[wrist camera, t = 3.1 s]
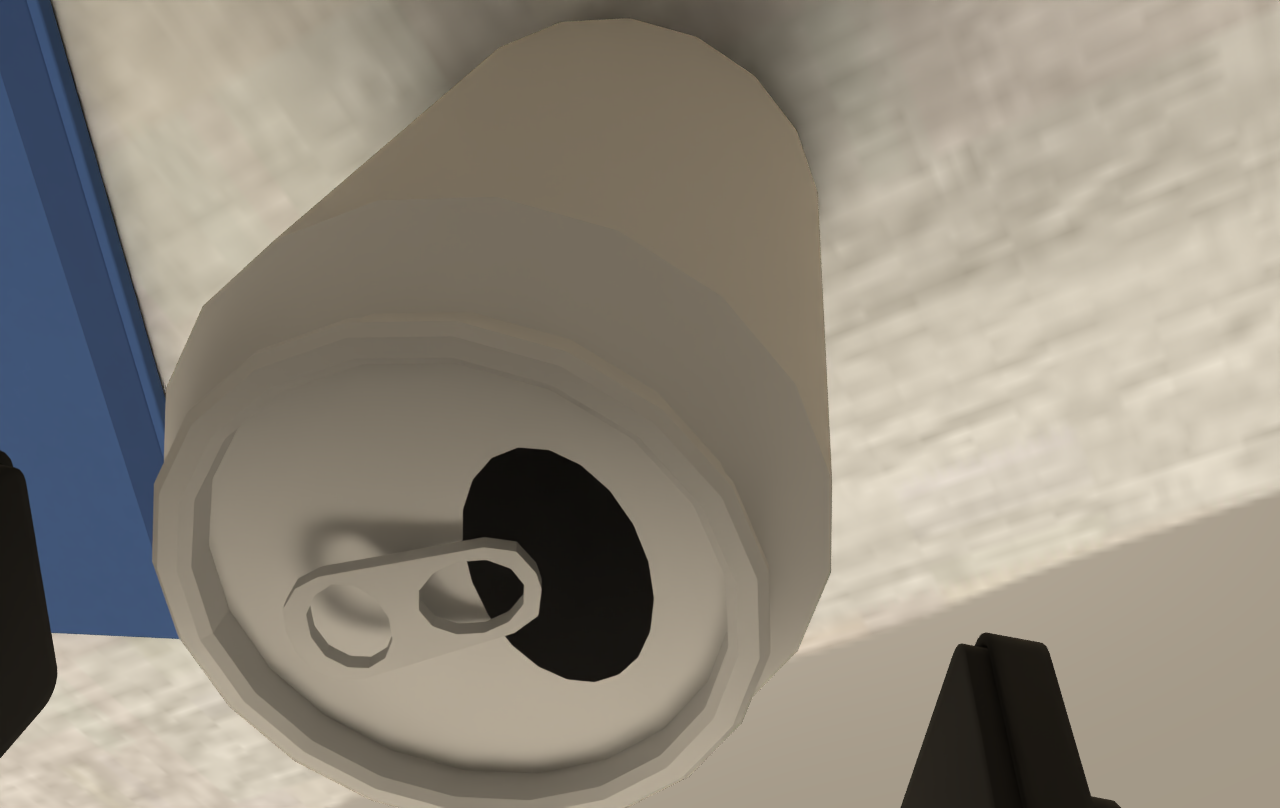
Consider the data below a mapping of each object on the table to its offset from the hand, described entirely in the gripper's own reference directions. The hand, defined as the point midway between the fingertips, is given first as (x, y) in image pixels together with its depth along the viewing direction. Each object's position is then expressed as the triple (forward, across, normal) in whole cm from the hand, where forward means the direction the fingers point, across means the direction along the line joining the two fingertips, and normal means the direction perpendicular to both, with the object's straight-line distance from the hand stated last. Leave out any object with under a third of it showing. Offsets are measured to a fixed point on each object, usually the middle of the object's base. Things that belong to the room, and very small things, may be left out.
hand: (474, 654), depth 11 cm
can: (+12, 0, -1) cm, 12 cm away
